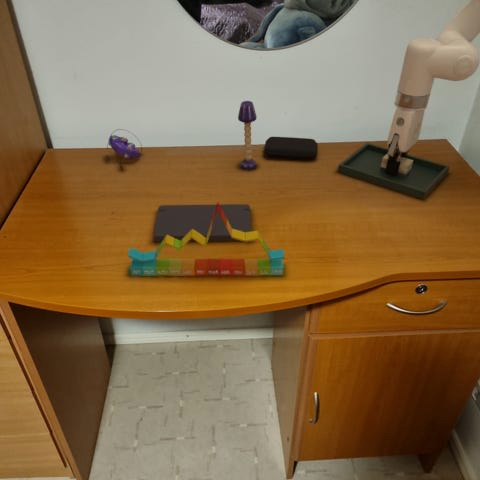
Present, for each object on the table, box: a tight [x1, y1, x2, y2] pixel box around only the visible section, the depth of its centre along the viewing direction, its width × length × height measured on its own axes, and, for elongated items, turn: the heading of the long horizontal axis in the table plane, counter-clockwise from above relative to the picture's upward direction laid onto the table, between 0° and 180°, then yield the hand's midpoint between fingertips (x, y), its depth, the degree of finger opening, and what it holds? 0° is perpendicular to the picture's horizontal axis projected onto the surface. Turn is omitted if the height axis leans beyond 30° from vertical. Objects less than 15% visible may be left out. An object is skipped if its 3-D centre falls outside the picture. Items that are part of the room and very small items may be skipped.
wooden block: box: [380, 154, 413, 178], centre depth 125 cm, size 7×4×4 cm, turn 54°
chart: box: [127, 201, 285, 277], centre depth 92 cm, size 30×3×15 cm, turn 90°
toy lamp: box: [237, 100, 258, 171], centre depth 124 cm, size 5×5×17 cm
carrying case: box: [263, 136, 319, 161], centre depth 135 cm, size 11×3×15 cm
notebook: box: [153, 203, 253, 243], centre depth 109 cm, size 13×2×21 cm
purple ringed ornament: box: [105, 128, 143, 171], centre depth 131 cm, size 10×8×10 cm
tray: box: [337, 142, 450, 201], centre depth 126 cm, size 24×17×2 cm
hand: (394, 170), depth 126 cm, fingers closed on wooden block, 3 cm apart
